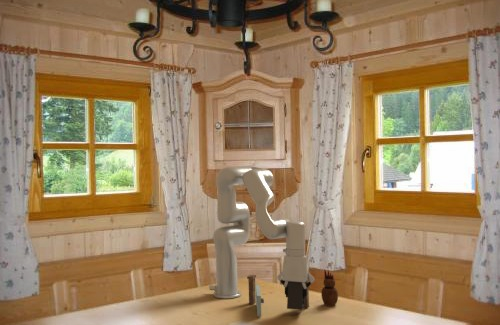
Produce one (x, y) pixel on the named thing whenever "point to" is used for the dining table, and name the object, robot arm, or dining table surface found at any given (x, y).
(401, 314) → the dining table surface
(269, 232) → the robot arm
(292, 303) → the door stopper
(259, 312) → the door
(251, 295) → the brown gate posts
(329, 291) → the wooden figurine
